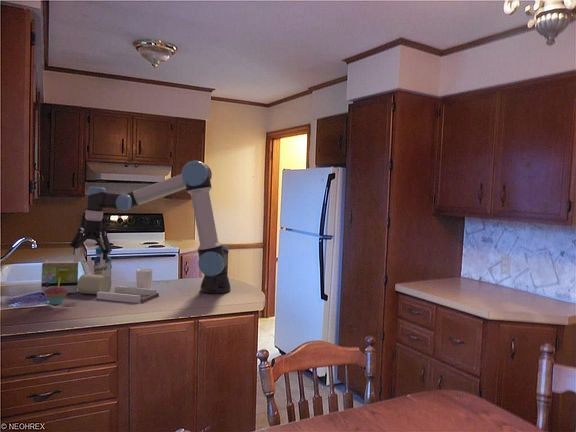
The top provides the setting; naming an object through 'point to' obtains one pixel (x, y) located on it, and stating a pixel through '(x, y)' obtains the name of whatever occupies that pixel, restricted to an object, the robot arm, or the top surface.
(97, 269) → the beverage bottle
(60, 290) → the cupcake
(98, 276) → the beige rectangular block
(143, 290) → the tube channel
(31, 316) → the top surface
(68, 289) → the tea box
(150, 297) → the trap pocket
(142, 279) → the white cup
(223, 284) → the robot arm
